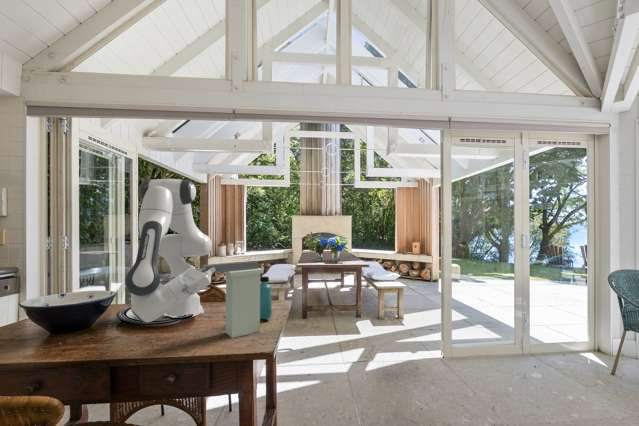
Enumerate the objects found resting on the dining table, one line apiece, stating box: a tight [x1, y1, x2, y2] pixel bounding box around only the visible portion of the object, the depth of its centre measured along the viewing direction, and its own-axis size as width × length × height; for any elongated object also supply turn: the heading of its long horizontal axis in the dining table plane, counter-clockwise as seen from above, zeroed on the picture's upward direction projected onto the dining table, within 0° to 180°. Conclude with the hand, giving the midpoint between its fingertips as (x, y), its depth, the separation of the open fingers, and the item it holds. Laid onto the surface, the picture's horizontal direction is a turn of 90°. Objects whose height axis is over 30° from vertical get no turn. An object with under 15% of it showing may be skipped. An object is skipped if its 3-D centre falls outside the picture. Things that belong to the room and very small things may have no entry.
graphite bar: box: [202, 260, 259, 274], centre depth 131 cm, size 22×3×3 cm, turn 126°
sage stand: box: [222, 267, 265, 339], centre depth 134 cm, size 14×9×26 cm, turn 126°
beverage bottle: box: [260, 276, 273, 320], centre depth 150 cm, size 6×7×20 cm
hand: (212, 267), depth 127 cm, fingers closed on graphite bar, 3 cm apart
